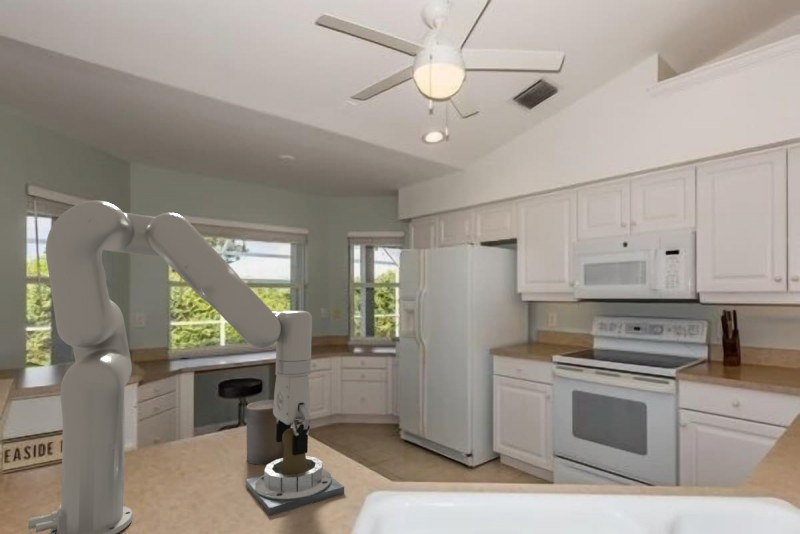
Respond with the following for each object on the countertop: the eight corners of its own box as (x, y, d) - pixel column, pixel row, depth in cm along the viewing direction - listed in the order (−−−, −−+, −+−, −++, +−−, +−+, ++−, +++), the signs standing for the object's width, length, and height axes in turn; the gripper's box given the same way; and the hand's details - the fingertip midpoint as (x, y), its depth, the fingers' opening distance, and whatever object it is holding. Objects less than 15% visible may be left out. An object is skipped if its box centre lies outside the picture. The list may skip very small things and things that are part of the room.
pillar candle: (291, 451, 121) (290, 394, 122) (275, 465, 111) (275, 404, 112) (256, 450, 122) (256, 394, 123) (238, 464, 112) (238, 403, 113)
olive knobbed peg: (277, 478, 99) (277, 427, 99) (305, 473, 101) (305, 423, 102) (282, 489, 93) (283, 434, 94) (311, 483, 96) (311, 430, 96)
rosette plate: (269, 516, 86) (269, 488, 87) (245, 486, 100) (246, 462, 100) (344, 493, 95) (344, 469, 96) (313, 469, 109) (313, 447, 109)
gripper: (263, 363, 104) (261, 439, 103) (291, 375, 89) (288, 463, 88) (295, 360, 108) (293, 433, 107) (326, 371, 94) (324, 456, 93)
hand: (291, 447), depth 98 cm, fingers open, 9 cm apart
